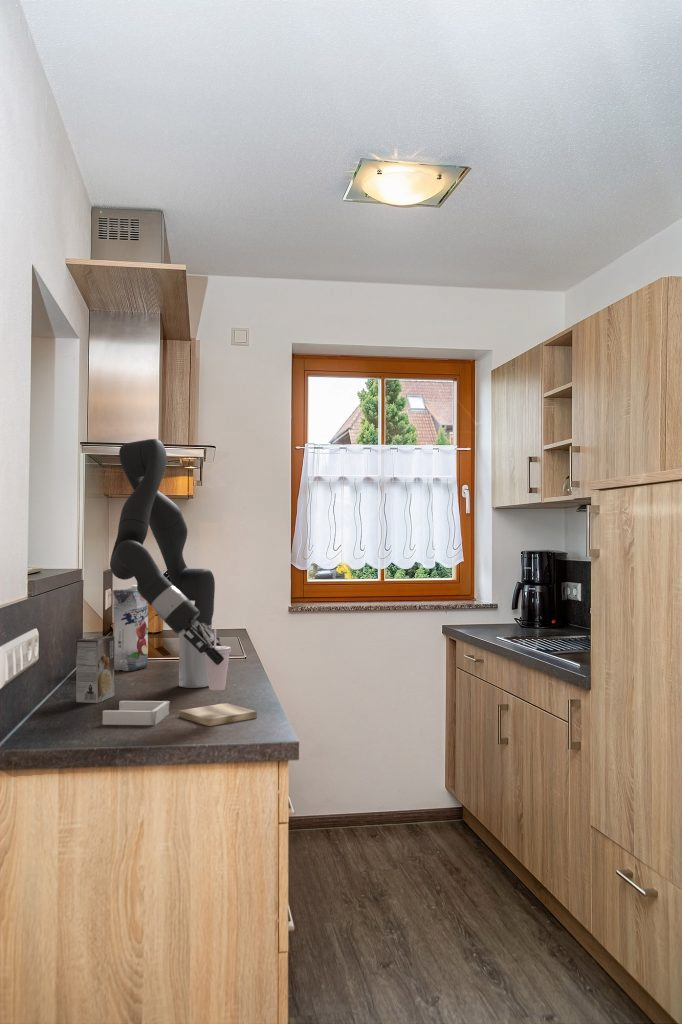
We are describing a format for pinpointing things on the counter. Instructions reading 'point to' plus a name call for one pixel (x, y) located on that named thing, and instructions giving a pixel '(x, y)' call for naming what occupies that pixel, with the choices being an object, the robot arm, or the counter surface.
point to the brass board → (217, 714)
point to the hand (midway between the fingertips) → (224, 660)
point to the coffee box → (94, 669)
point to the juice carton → (130, 630)
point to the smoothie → (218, 667)
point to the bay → (137, 713)
